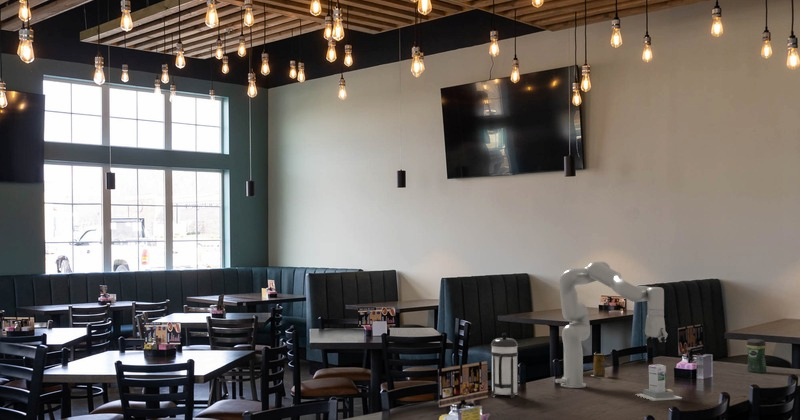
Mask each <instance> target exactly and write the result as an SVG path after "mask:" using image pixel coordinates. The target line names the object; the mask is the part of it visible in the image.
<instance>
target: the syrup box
mask: <svg viewBox="0 0 800 420" xmlns="http://www.w3.org/2000/svg"><path fill="white" fill-rule="evenodd" d="M648 385H649V386H648V389H649V391H653V392H667V365H665V364H661V363H659V364H658V363H657V364H649V365H648Z"/></svg>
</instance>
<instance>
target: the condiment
mask: <svg viewBox="0 0 800 420" xmlns="http://www.w3.org/2000/svg"><path fill="white" fill-rule="evenodd" d="M605 374H606V360H605V354H604V353H594V355H593V374H590V376H591V377H594V378H599V379H600V378H605V379H606V378H609V376H607V375H605Z"/></svg>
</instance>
